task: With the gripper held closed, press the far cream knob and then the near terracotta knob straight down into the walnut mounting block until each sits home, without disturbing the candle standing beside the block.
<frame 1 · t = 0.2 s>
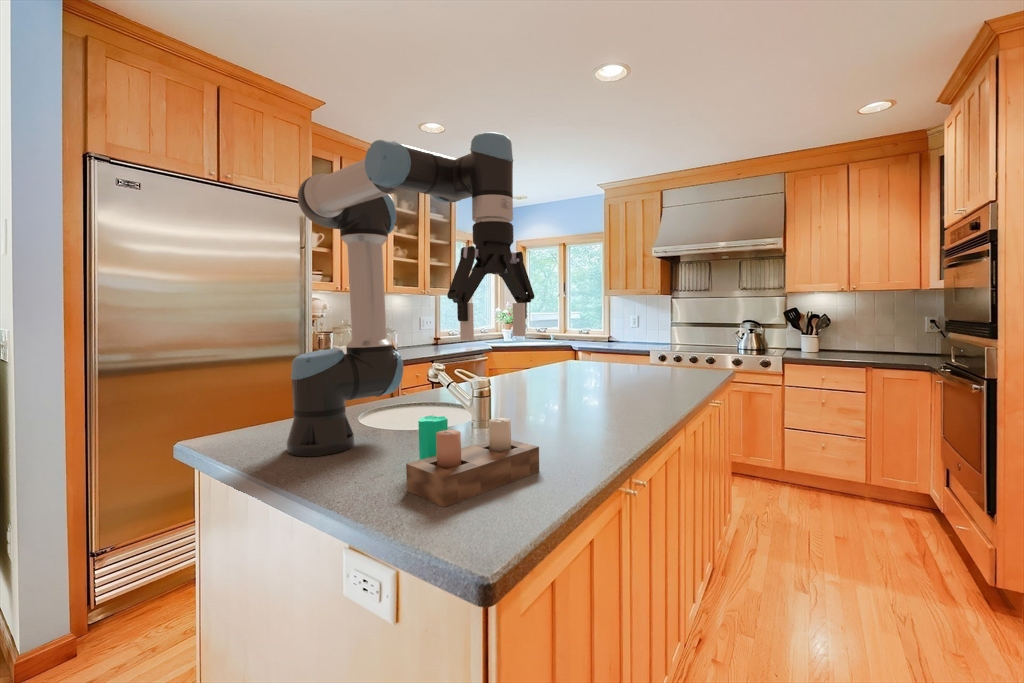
hand: (494, 338, 91), 27 cm above the counter, fingers open, 13 cm apart
candle: (434, 469, 100), on the counter
knob far: (500, 435, 97), point 7 cm above the counter, slide at 0.0 cm
knob near: (448, 449, 88), point 7 cm above the counter, slide at 0.0 cm
mount: (476, 480, 93), on the counter
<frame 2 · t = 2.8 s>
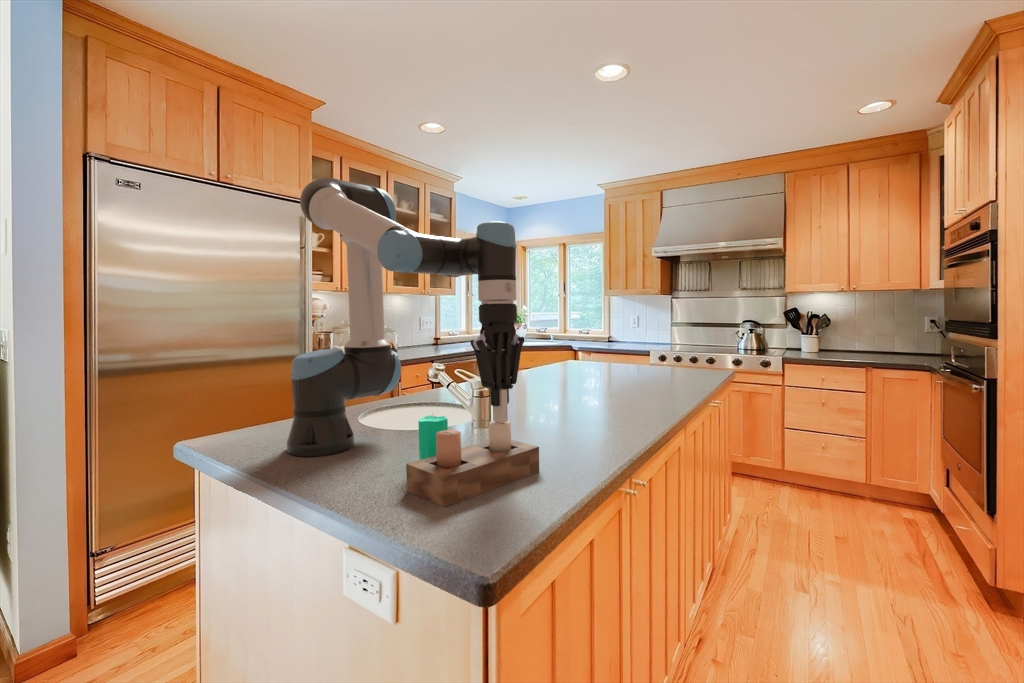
hand: (500, 421, 97), 10 cm above the counter, fingers closed
knob far: (500, 437, 97), point 7 cm above the counter, slide at 0.5 cm, touching gripper
everything else where it was.
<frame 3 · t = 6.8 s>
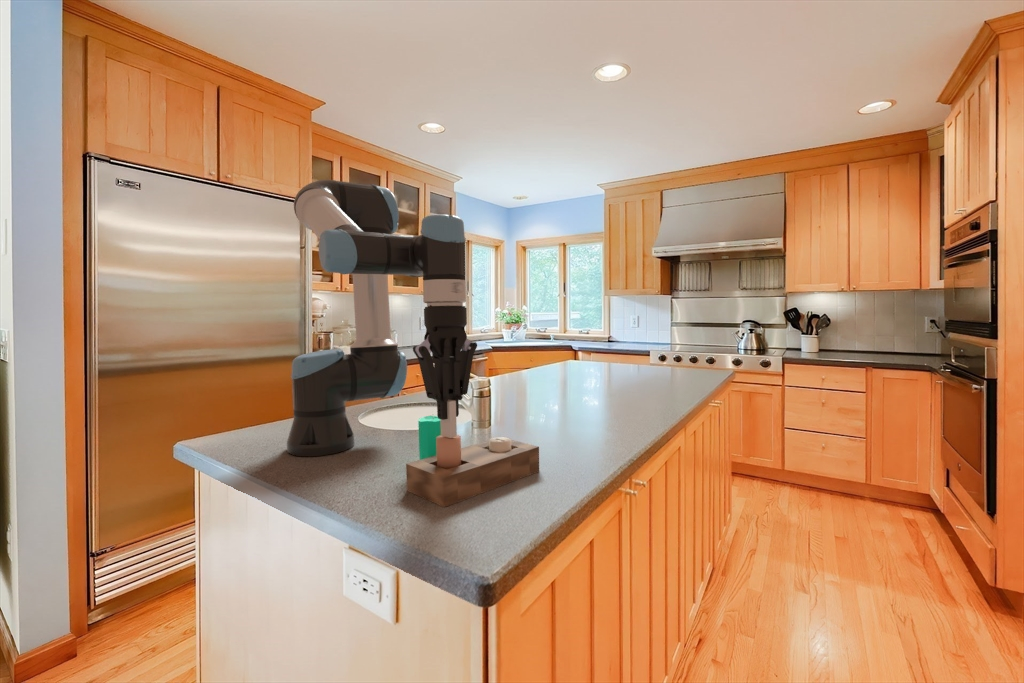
hand: (448, 435, 87), 10 cm above the counter, fingers closed
knob far: (500, 455, 97), point 3 cm above the counter, slide at 4.0 cm
knob near: (448, 454, 88), point 7 cm above the counter, slide at 0.8 cm, touching gripper
everything else where it was.
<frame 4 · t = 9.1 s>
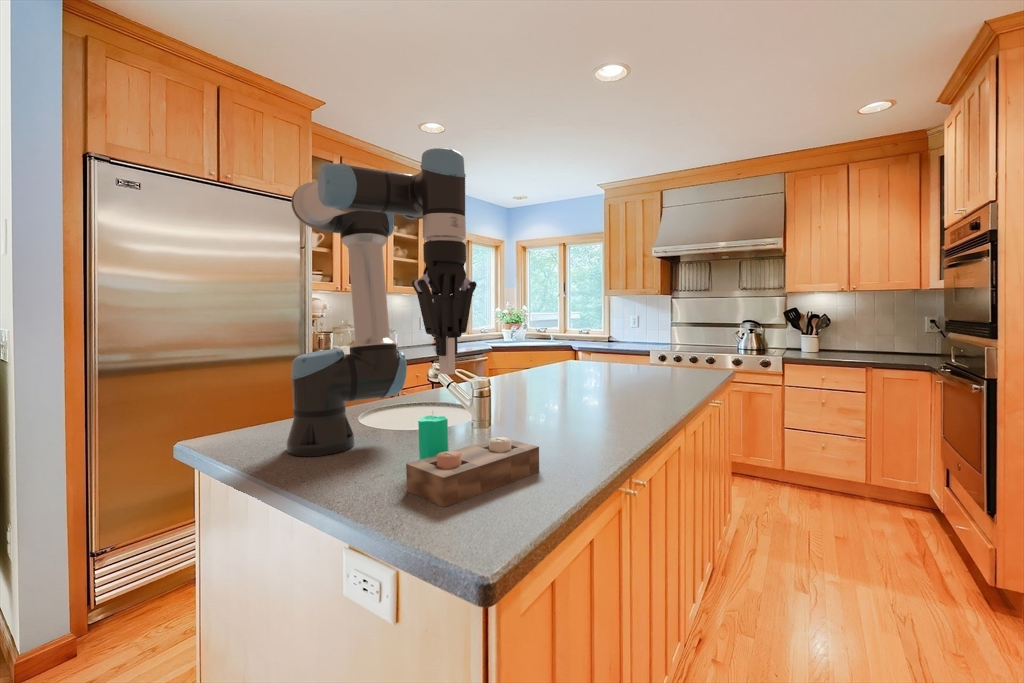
hand: (447, 373, 88), 21 cm above the counter, fingers closed
knob near: (449, 471, 88), point 3 cm above the counter, slide at 4.0 cm
everything else where it was.
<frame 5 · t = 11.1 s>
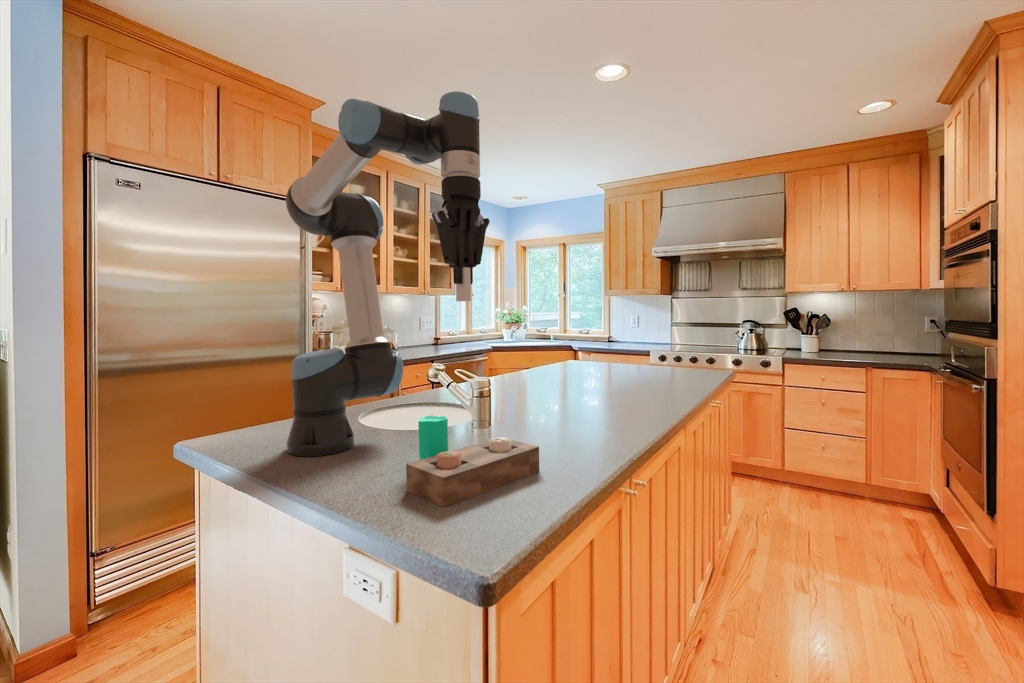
hand: (463, 301, 95), 34 cm above the counter, fingers closed
nothing on the counter moved.
at the end: knob far slide at 4.0 cm; knob near slide at 4.0 cm; candle moved 0.2 cm from its start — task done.
